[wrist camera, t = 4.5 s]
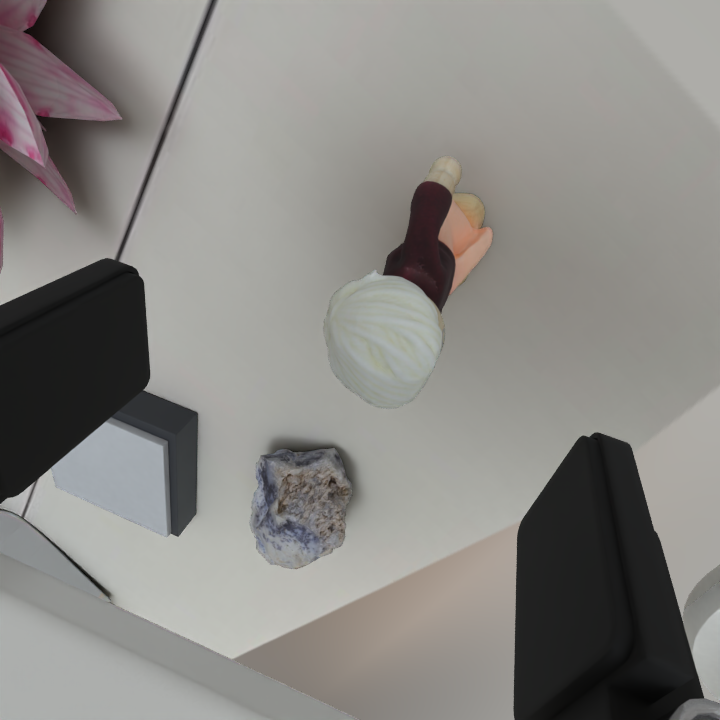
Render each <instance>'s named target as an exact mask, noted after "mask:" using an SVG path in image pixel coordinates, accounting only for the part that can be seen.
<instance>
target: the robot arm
mask: <svg viewBox="0 0 720 720" xmlns="http://www.w3.org/2000/svg"><path fill="white" fill-rule="evenodd" d="M149 379H150V364H149V349H148V335H147V320H146V306H145V291H144V282H143V279H142V278H141V277H140V276H139V273H138V271H137V270H136V269H135V268H134V267H132V266H129V265H127V264H124V263H121V262H118V261H115V260H113V259H108V258H105V259H102V260H99V261H97V262H95V263H93V264H91V265H88V266H86V267H84V268H82V269H80V270H77V271H75V272H73V273H71V274H69V275H66V276H64V277H62V278H60V279H58V280H55V281H53V282H51V283H49V284H47V285H44V286H42V287H40V288H38V289H36V290H33V291H31V292H29V293H27V294H25V295H22V296H20V297H18V298H16V299H14V300H11V301H9V302H7V303H5V304H3V305H0V504H1V503H2V502H3V501H4V500H5V499H7V498H10V497H15V496H17V495H19V494H20V493H21V492H23V491H24V490H25V489H26V488H28V487H29V486H30V485H31V484H32V483H33V482H35V481H36V480H37V479H38V478H39V477H41V476H42V475H43V474H44V473H45V472H47V471H48V470H49V469H50V468H51V467H52V466H54V465H55V464H56V463H57V462H58V461H60V460H61V459H62V458H63V457H64V456H66V455H67V454H68V453H69V452H70V451H71V450H73V449H74V448H75V447H76V446H77V445H79V444H80V443H81V442H82V441H83V440H85V439H86V438H87V437H88V436H89V435H90V434H92V433H93V432H94V431H95V430H96V429H98V428H99V427H100V426H101V425H102V424H103V423H105V422H106V421H107V420H108V419H109V418H111V417H112V416H113V415H114V414H115V413H117V412H118V411H119V410H120V409H121V408H122V407H124V406H125V405H126V404H127V403H128V402H130V401H131V400H132V399H133V398H134V397H136V396H137V395H138V394H139V393H140V392H141V391H143V390H144V389H145V387H146V386H147V384H148V382H149ZM516 574H517V575H516V620H515V622H516V623H515V666H514V668H515V669H514V718H515V720H720V703H717V702H714V701H711V700H708V699H705V698H704V696H703V692H702V688H701V685H700V682H699V678H698V674H697V671H696V667H695V663H694V660H693V656H692V653H691V649H690V646H689V642H688V638H687V635H686V631H685V628H684V624H683V621H682V617H681V614H680V610H679V606H678V603H677V599H676V596H675V592H674V588H673V585H672V581H671V578H670V574H669V571H668V567H667V563H666V560H665V557H664V553H663V549H662V546H661V542H660V540H659V537H658V535H657V533H656V532H655V531H654V528H653V524H652V521H651V517H650V514H649V510H648V506H647V502H646V499H645V495H644V491H643V488H642V484H641V481H640V477H639V473H638V469H637V466H636V462H635V459H634V455H633V451H632V448H631V446H630V444H628V443H626V442H624V441H621V440H618V439H615V438H612V437H610V436H607V435H604V434H601V433H598V432H597V433H594V434H592V435H591V436H590V437H587V436H581V437H580V438H579V439H578V440H577V441H576V443H575V444H574V446H573V447H572V449H571V450H570V451H569V453H568V454H567V456H566V457H565V459H564V460H563V462H562V463H561V464H560V466H559V467H558V469H557V470H556V472H555V473H554V474H553V476H552V477H551V479H550V480H549V482H548V483H547V485H546V486H545V487H544V489H543V490H542V492H541V493H540V495H539V496H538V498H537V499H536V500H535V502H534V503H533V505H532V506H531V508H530V509H529V511H528V512H527V513H526V515H525V516H524V518H523V519H522V521H521V524H520V526H519V530H518V535H517V572H516ZM0 720H360V719H358V718H356V717H353V716H351V715H349V714H347V713H345V712H343V711H341V710H339V709H336V708H334V707H332V706H330V705H328V704H326V703H324V702H322V701H319V700H317V699H315V698H313V697H311V696H309V695H307V694H304V693H302V692H300V691H298V690H296V689H294V688H292V687H289V686H287V685H285V684H283V683H281V682H279V681H277V680H275V679H272V678H270V677H268V676H266V675H264V674H262V673H260V672H257V671H255V670H253V669H251V668H249V667H247V666H245V665H243V664H241V663H238V662H236V661H234V660H232V659H230V658H228V657H226V656H223V655H221V654H219V653H217V652H215V651H213V650H210V649H208V648H206V647H204V646H202V645H200V644H197V643H195V642H193V641H191V640H189V639H187V638H185V637H182V636H180V635H178V634H176V633H174V632H172V631H169V630H167V629H165V628H163V627H161V626H159V625H156V624H154V623H152V622H150V621H148V620H146V619H144V618H141V617H139V616H137V615H135V614H133V613H131V612H128V611H126V610H124V609H122V608H120V607H118V606H115V605H113V604H111V603H109V602H107V601H105V600H102V599H100V598H98V597H96V596H94V595H92V594H89V593H87V592H85V591H83V590H81V589H79V588H76V587H74V586H72V585H70V584H68V583H66V582H64V581H61V580H59V579H57V578H55V577H53V576H51V575H48V574H46V573H44V572H42V571H40V570H37V569H35V568H33V567H31V566H29V565H26V564H24V563H22V562H20V561H18V560H16V559H13V558H11V557H9V556H7V555H5V554H2V553H0Z"/></svg>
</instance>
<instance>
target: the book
mask: <svg viewBox="0 0 720 720" xmlns="http://www.w3.org/2000/svg"><path fill="white" fill-rule="evenodd" d="M0 553H2V554H5V555H7V556H9V557H11V558H13V559H16V560H18V561H20V562H22V563H24V564H26V565H29V566H31V567H33V568H35V569H37V570H40V571H42V572H44V573H46V574H48V575H51V576H53V577H55V578H57V579H59V580H61V581H64V582H66V583H68V584H70V585H72V586H74V587H76V588H79V589H81V590H83V591H85V592H87V593H89V594H92V595H94V596H96V597H98V598H100V599H102V600H105V601H107V602H109V603H110V600H111V599H110V598H109V597H108V596H107V595H105V594H104V593H103V592H102V591H101V590H100V589H99V588H98V587H97V586H96V585H95V584H94V583H93V582H92V581H91V580H90V579H89V578H88V577H86V576H85V575H84V574H83V573H82V572H81V571H80V570H79V569H78V568H77V567H76V566H75V565H74V564H73V563H72V562H71V561H70V560H69V559H68V558H67V557H66V556H65V555H64V554H63V553H62V552H61V551H60V550H59V549H58V548H56V547H55V546H54V545H53V544H52V543H51V542H50V541H49V540H48V539H47V538H46V537H45V536H44V535H43V534H42V533H41V532H39V531H38V530H37V529H36V528H34V527H33V526H32V525H31V524H29V523H28V522H27V521H25V520H24V519H23V518H21V517H19V516H18V515H16V514H13V513H11V512H7V511H3V510H0Z"/></svg>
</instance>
